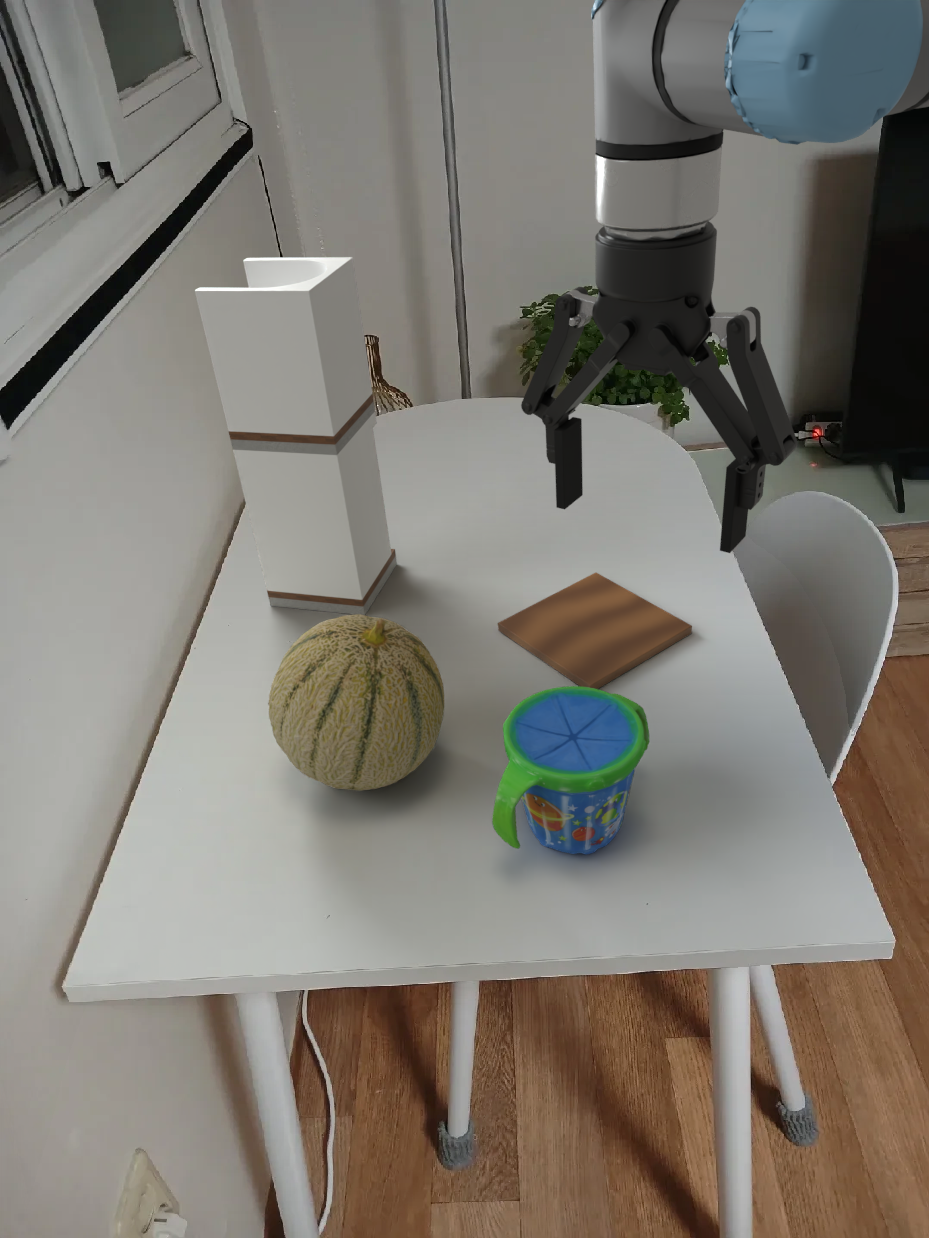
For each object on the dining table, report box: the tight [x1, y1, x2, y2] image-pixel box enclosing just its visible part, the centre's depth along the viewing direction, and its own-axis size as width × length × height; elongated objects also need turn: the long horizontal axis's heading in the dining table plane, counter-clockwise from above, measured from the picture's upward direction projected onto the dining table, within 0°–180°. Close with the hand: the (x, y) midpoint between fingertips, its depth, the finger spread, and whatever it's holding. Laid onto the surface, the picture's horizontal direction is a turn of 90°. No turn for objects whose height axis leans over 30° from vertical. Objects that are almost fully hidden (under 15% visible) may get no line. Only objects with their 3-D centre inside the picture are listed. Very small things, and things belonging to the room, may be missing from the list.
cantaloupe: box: [267, 614, 446, 791], centre depth 80 cm, size 15×15×15 cm
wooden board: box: [497, 572, 693, 690], centre depth 98 cm, size 14×14×1 cm
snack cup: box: [491, 685, 650, 855], centre depth 74 cm, size 16×10×10 cm
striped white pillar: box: [194, 256, 398, 616], centre depth 100 cm, size 11×11×35 cm
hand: (647, 521), depth 72 cm, fingers open, 13 cm apart
